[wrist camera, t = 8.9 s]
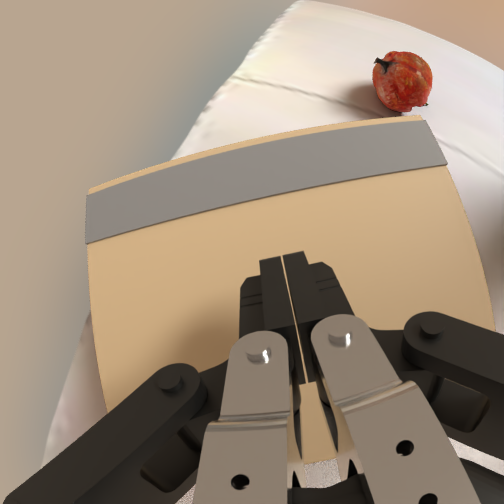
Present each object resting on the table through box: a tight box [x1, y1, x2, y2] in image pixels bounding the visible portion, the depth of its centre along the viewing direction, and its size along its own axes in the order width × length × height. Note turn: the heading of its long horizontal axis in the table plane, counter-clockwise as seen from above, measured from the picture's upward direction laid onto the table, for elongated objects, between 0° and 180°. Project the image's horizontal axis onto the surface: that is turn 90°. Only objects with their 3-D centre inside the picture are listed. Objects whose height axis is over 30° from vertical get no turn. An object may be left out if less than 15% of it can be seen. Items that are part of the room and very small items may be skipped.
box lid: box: [85, 115, 496, 464], centre depth 13 cm, size 16×20×1 cm
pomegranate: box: [372, 51, 432, 112], centre depth 26 cm, size 7×7×10 cm
